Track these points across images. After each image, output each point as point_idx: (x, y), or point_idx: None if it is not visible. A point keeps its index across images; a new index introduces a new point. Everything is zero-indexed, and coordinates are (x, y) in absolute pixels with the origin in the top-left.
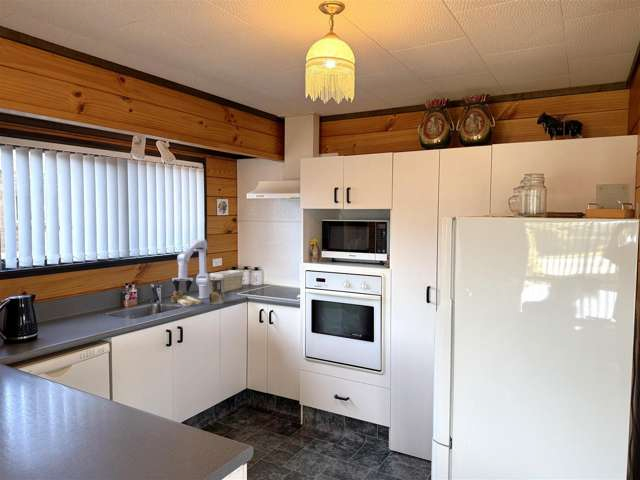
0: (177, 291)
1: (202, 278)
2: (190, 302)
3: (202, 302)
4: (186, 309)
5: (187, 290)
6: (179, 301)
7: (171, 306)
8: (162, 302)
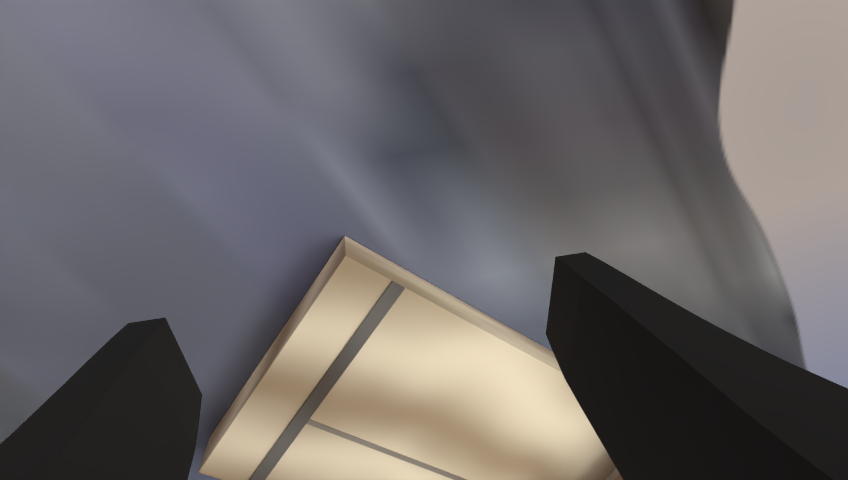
0: (553, 294)
1: None
2: (309, 332)
3: (207, 449)
4: (141, 4)
5: (100, 362)
6: (557, 367)
7: (579, 184)
8: (797, 356)
